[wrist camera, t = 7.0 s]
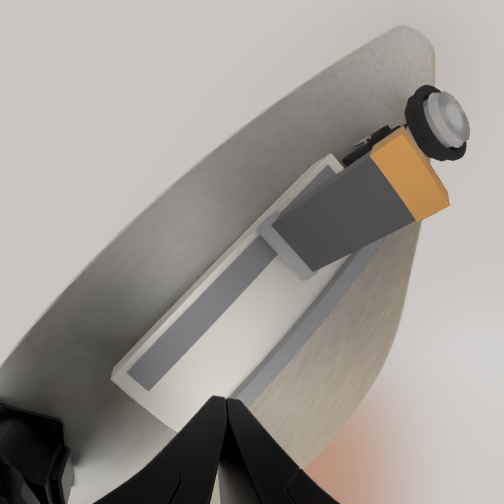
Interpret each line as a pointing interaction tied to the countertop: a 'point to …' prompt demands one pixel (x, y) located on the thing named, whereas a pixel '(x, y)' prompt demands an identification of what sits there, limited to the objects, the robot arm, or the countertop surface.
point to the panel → (236, 321)
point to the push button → (427, 126)
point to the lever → (357, 206)
